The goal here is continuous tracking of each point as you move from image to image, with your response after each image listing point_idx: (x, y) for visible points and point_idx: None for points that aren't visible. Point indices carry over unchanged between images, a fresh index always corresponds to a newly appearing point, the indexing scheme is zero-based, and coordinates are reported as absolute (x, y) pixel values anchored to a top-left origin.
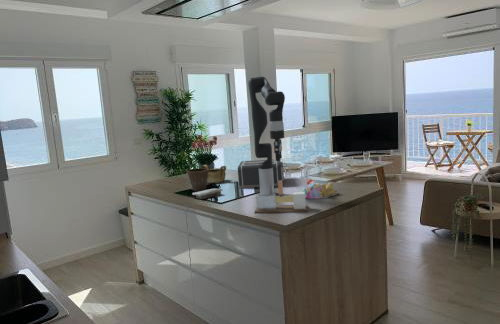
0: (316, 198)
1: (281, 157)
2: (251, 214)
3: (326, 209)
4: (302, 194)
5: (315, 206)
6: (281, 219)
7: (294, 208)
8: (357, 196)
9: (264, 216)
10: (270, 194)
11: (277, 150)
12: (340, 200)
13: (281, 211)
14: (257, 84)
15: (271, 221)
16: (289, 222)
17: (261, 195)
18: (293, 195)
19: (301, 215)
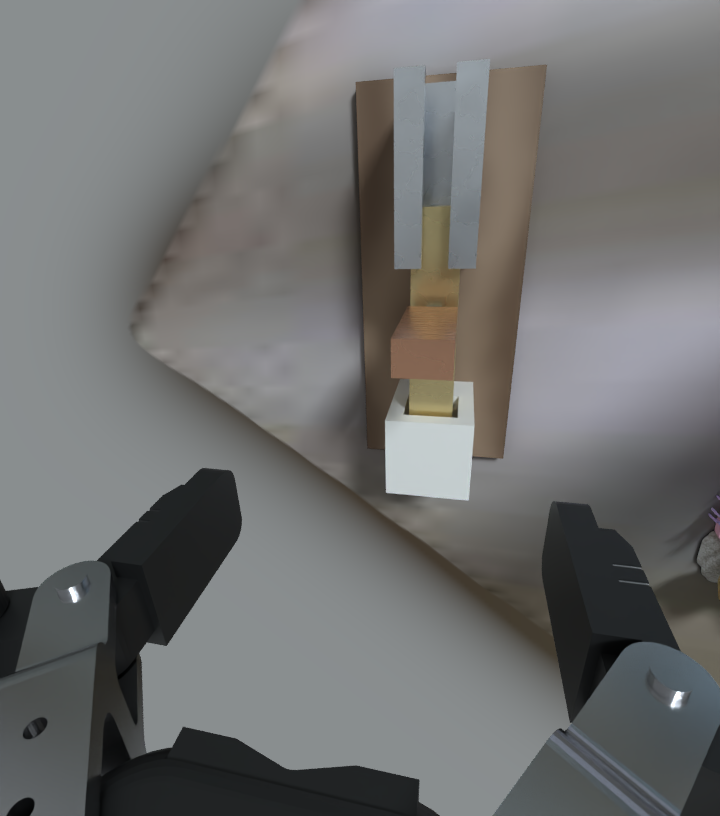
0: (710, 515)
1: (544, 585)
2: (329, 62)
3: (411, 532)
4: (386, 478)
5: (489, 490)
6: (222, 311)
7: (399, 382)
8: None
9: (278, 190)
10: (464, 216)
11: (594, 700)
12: None
13: (363, 300)
14: None
15: (179, 257)
16: (175, 357)
17: (455, 114)
18: (386, 418)
19: (301, 413)
